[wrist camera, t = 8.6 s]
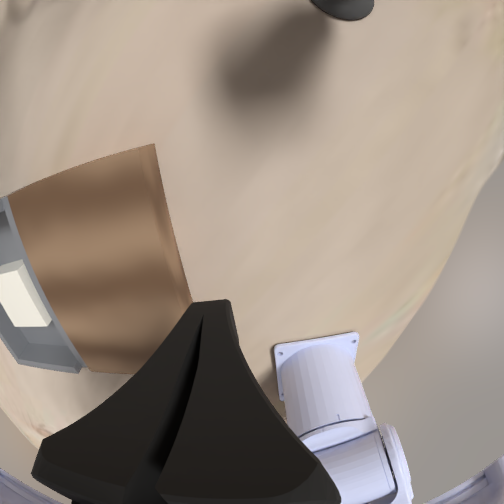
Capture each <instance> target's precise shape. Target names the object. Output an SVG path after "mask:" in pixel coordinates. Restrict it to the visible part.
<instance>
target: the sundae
mask: <svg viewBox="0 0 504 504" xmlns="http://www.w3.org/2000/svg"><path fill="white" fill-rule="evenodd" d="M312 1H313V2H314V3H315V4H316V5H317V6H318V7H319V8H320V9H322V10H323V11H325V12H327V13H328V14H330V15H333V16H335V17H338V18H342V19H347V20H356V19H362V18H364V17H366V16H367V15H369V14H370V13H371V11H372V9H373V7H374V0H312Z"/></svg>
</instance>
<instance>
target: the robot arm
mask: <svg viewBox="0 0 504 504" xmlns="http://www.w3.org/2000/svg"><path fill="white" fill-rule="evenodd" d="M358 340H359V334H358V333H357V332H350V333H345V334H340V335H334V336H329V337H323V338H317V339H310V340H304V341H297V342H290V343H283V344H277V345H275V347H274V354H275V362H276V371H277V381H278V390H279V399H280V400H281V401H285V409H286V417H287V424H286V423H285V421H284V420H283V419H282V417H281V416H280V415H279V413H278V412H277V411H276V409H275V408H274V406H273V405H272V404H271V402H270V401H269V400H268V398H267V397H266V395H265V394H264V392H263V390H262V389H261V387H260V386H259V384H258V382H257V380H256V379H255V377H254V375H253V373H252V372H251V370H250V368H249V366H248V364H247V362H246V360H245V358H244V355H243V353H242V351H241V349H240V346H239V339H238V334H237V330H236V325H235V321H234V316H233V312H232V307H231V302H230V301H229V300H227V299H224V300H214V301H204V302H194V303H191V304H190V306H189V307H188V308H187V310H186V311H185V312H184V314H183V315H182V317H181V318H180V319H179V321H178V322H177V324H176V325H175V326H174V328H173V329H172V330H171V332H170V333H169V334H168V336H167V337H166V338H165V340H164V341H163V342H162V344H161V345H160V346H159V347H158V349H157V350H156V351H155V352H154V353H153V355H152V356H151V357H150V358H149V359H148V360H147V362H146V363H145V364H144V365H143V366H142V367H141V368H140V369H139V370H138V372H137V373H136V374H135V375H134V376H133V377H132V378H131V379H129V380H128V381H127V382H126V383H125V384H124V385H123V386H122V387H121V388H120V389H119V390H118V391H116V392H115V393H114V394H113V395H112V396H110V397H109V398H108V399H107V400H105V401H104V402H103V403H102V404H101V405H99V406H98V407H97V408H95V409H94V410H92V411H91V412H90V413H88V414H87V415H85V416H84V417H82V418H81V419H79V420H78V421H76V422H74V423H73V424H71V425H69V426H68V427H66V428H64V429H62V430H60V431H58V432H56V433H55V434H53V435H51V436H49V437H47V438H45V439H43V440H42V443H41V446H40V448H39V451H38V454H37V457H36V460H35V463H34V466H33V469H32V472H31V474H32V476H33V478H35V479H36V480H37V481H39V482H40V483H42V484H44V485H45V486H47V487H49V488H50V489H52V490H54V491H56V492H58V493H60V494H61V495H63V496H65V497H67V498H69V499H71V500H72V504H412V502H411V499H413V497H414V496H413V492H412V488H411V484H410V481H411V477H410V472H409V469H408V465H407V462H406V458H405V456H404V452H403V449H402V446H401V443H400V441H399V438H398V435H397V433H396V430H395V428H394V426H391V425H387V423H383V424H381V425H379V426H380V430H381V433H382V438H381V435H380V432H379V429H378V427H377V424H376V421H375V419H374V417H373V415H372V412H371V409H370V407H369V404H368V401H367V398H366V395H365V392H364V389H363V387H362V384H361V381H360V378H359V376H358V373H357V370H356V367H355V365H354V362H355V357H356V352H357V346H358ZM279 352H281V353H279ZM382 439H383V441H382ZM383 442H384V444H383ZM384 445H385V448H384ZM392 471H393V473H392ZM393 474H394V477H393ZM0 504H62V503H60V502H58V501H56V500H54V499H52V498H50V497H48V496H46V495H44V494H42V493H40V492H38V491H37V490H35V489H33V488H31V487H29V486H28V485H26V484H24V483H23V482H21V481H19V480H18V479H16V478H15V477H13V476H12V475H10V474H9V473H7V472H6V471H4V470H3V469H1V468H0ZM423 504H504V454H503V455H502V456H500V457H499V458H498V459H496V460H495V461H494V462H492V463H491V464H490V465H488V466H487V467H486V468H485V469H484V470H482V471H480V472H479V473H477V474H476V475H474V476H473V477H471V478H469V479H468V480H466V481H465V482H463V483H462V484H460V485H458V486H456V487H455V488H453V489H451V490H449V491H447V492H445V493H443V494H442V495H440V496H438V497H436V498H434V499H431V500H429V501H427V502H425V503H423Z"/></svg>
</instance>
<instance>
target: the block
mask: <svg viewBox="0 0 504 504" xmlns="http://www.w3.org/2000/svg"><path fill="white" fill-rule="evenodd" d="M0 302H1V304H2V306H3V308H4V309H5V311H6V313H7V315H8V316H9V318H10V320H11V321H12V323H13V324H14V326H15V327H43V326H48V325H49V324H50V322H51V321H52V319H51V317H50V316H49V314H48V312H47V310H46V308H45V306H44V304H43V303H42V301H41V299H40V297H39V295H38V293H37V291H36V289H35V287H34V284H33V282H32V280H31V278H30V276H29V274H28V271H27V269H26V267H25V265H24V262H23V260H22V259H21V260H18V261H14V262H11V263H7V264H4V265H1V266H0Z"/></svg>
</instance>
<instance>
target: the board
mask: <svg viewBox="0 0 504 504" xmlns="http://www.w3.org/2000/svg"><path fill="white" fill-rule="evenodd" d="M7 197H8V201H9V204H10V208H11V211H12V214H13V218H14V221H15V224H16V227H17V230H18V232H19V235H20V238H21V241H22V243H23V246H24V249H25V251H26V254H27V256H28V259H29V261H30V264H31V266H32V268H33V270H34V273H35V275H36V277H37V279H38V282H39V284H40V286H41V288H42V290H43V292H44V294H45V296H46V298H47V300H48V302H49V304H50V306H51V308H52V310H53V311H54V313H55V315H56V317H57V319H58V320H59V322H60V324H61V326H62V327H63V329H64V331H65V332H66V334H67V336H68V337H69V339H70V341H71V342H72V344H73V345H74V347H75V349H76V350H77V352H78V353H79V355H80V356H81V358H82V359H83V361H84V362H85V364H86V365H87V366H88V368H89V369H90V371H92V372H105V373H120V374H136V373H137V372H138V370H139V369H140V368H141V367H142V366H143V365H144V364H145V363H146V362H147V360H148V359H149V358H150V357H151V356H152V355H153V353H154V352H155V351H156V350H157V349H158V347H159V346H160V345H161V344H162V342H163V341H164V340H165V338H166V337H167V336H168V334H169V333H170V332H171V330H172V329H173V328H174V326H175V325H176V324H177V322H178V321H179V319H180V318H181V317H182V315H183V314H184V312H185V311H186V310H187V308H188V307H189V306H190V304H191V303H193V301H192V297H191V294H190V291H189V287H188V284H187V280H186V277H185V273H184V270H183V266H182V262H181V259H180V255H179V251H178V247H177V244H176V240H175V236H174V232H173V228H172V224H171V220H170V215H169V211H168V207H167V203H166V198H165V194H164V189H163V184H162V180H161V175H160V170H159V165H158V160H157V155H156V150H155V144H150V145H146V146H142V147H138V148H134V149H131V150H127V151H124V152H120V153H117V154H113V155H110V156H106V157H103V158H100V159H97V160H94V161H91V162H88V163H85V164H82V165H79V166H76V167H73V168H71V169H68V170H65V171H62V172H60V173H57V174H55V175H52V176H49V177H47V178H44V179H42V180H40V181H37V182H35V183H33V184H30V185H28V186H26V187H24V188H22V189H20V190H18V191H16V192H14V193H12V194H10V195H8V196H7Z"/></svg>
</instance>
